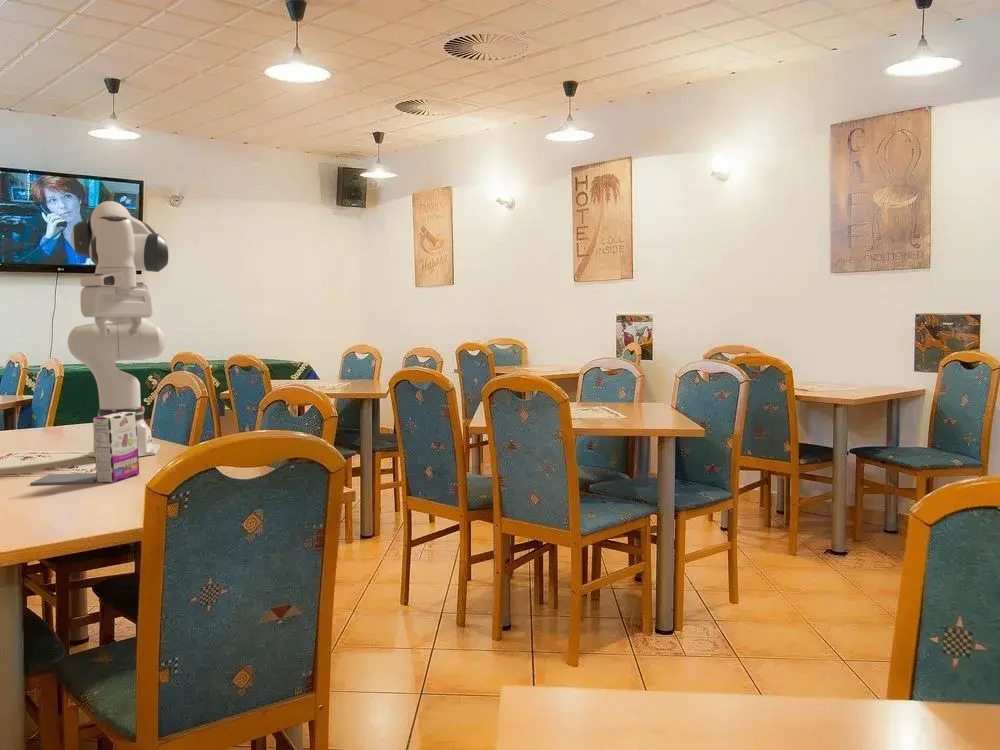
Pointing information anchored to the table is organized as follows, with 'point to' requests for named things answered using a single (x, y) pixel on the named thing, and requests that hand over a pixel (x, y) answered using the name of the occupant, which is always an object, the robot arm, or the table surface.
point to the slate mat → (66, 479)
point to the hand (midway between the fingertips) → (119, 335)
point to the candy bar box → (116, 447)
